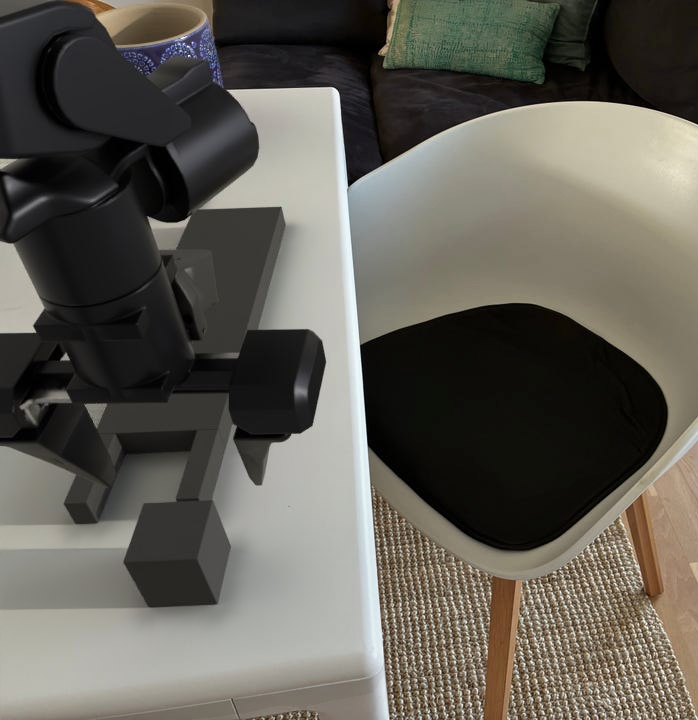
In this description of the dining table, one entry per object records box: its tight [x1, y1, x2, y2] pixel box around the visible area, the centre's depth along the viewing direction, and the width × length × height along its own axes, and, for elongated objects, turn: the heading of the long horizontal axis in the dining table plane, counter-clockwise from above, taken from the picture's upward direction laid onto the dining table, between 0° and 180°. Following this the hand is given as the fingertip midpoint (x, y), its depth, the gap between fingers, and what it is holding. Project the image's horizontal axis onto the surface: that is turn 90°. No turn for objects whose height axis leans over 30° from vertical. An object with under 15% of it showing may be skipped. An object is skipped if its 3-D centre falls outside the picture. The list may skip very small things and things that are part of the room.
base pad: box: [63, 206, 287, 525], centre depth 74 cm, size 42×10×2 cm, turn 2°
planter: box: [95, 2, 225, 89], centre depth 103 cm, size 17×17×15 cm
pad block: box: [123, 499, 232, 608], centre depth 54 cm, size 5×5×6 cm
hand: (185, 480), depth 48 cm, fingers open, 9 cm apart
